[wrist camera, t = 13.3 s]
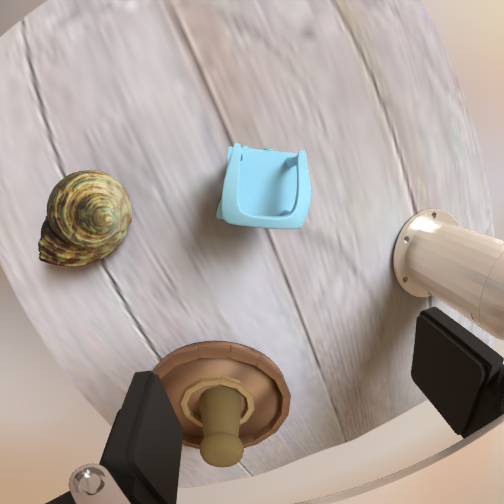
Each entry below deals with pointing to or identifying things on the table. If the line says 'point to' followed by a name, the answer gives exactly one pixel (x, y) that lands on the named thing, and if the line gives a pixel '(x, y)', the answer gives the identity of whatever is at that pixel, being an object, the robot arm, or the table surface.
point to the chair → (265, 188)
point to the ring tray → (229, 375)
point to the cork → (221, 426)
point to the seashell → (84, 219)
